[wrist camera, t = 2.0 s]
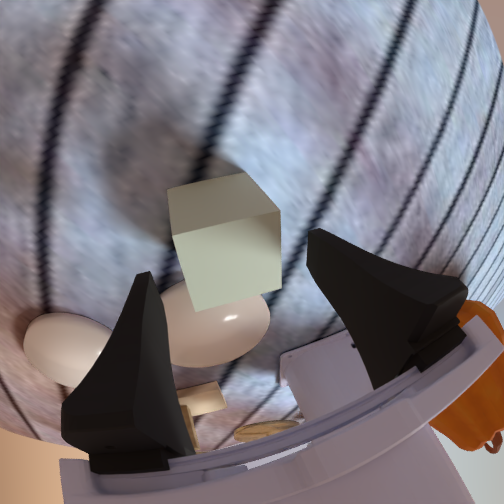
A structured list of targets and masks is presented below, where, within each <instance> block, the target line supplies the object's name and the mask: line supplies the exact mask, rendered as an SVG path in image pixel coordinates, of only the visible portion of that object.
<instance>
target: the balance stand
mask: <svg viewBox="0 0 504 504" xmlns="http://www.w3.org/2000/svg"><path fill="white" fill-rule="evenodd" d="M176 392H177V396H178V400H179V403H180V407H181V411H182V414H183V417H184V421H185V424H186V427H187V430H188V433H189V436H190V439H191V441H192V444H193V447H194V450H198V449H200V446H199V442H198V439H197V435H196V431H195V427H194V423H193V419H192V416H196V415H200V414H204V413H209V412H213V411H217V410H221V409H224V408H228V407H227V404H226V401H225V399H224V397H223V394H222V392H221V390H220V387H219V385H218V383H217V381H215V382H211V383H207V384H203V385H199V386H194V387H190V388H186V389H181V390H177V391H176Z"/></svg>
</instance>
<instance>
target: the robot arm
mask: <svg viewBox="0 0 504 504" xmlns="http://www.w3.org/2000/svg"><path fill="white" fill-rule="evenodd" d="M306 266H307V268H308V269H309V271H310V273H311V275H312V277H313V279H314V281H315V283H316V284H317V285H318V287H319V288H320V290H321V291H322V293H323V294H324V295H325V297H326V298H327V299H328V301H329V302H330V304H331V305H332V306H333V308H334V309H335V311H336V312H337V313H338V315H339V316H340V318H341V319H342V321H343V323H344V324H345V326H346V328H347V330H344V331H342V332H339V333H337V334H334V335H332V336H329V337H327V338H324V339H322V340H319V341H316V342H314V343H311V344H308V345H306V346H303V347H300V348H297V349H295V350H292V351H289V352H286V353H283V354H282V355H281V356H280V387H286V386H288V385H289V387H290V389H291V391H292V393H293V395H294V397H295V399H296V401H297V404H298V406H299V408H300V410H301V412H302V414H303V416H304V418H305V420H306V422H305V423H303V424H300V425H298V426H295V427H292V428H290V429H287V430H284V431H281V432H278V433H275V434H272V435H269V436H266V437H263V438H260V439H257V440H253V441H250V442H246V443H243V444H239V445H236V446H232V447H228V448H224V449H220V450H215V451H211V452H206V453H201V454H196V452H195V450H194V447H193V444H192V441H191V439H190V436H189V433H188V430H187V427H186V424H185V421H184V417H183V414H182V411H181V407H180V403H179V400H178V396H177V392H176V388H175V384H174V379H173V375H172V368H171V359H170V349H169V338H168V326H167V319H166V314H165V309H164V304H163V301H162V299H161V297H160V294H159V292H158V289H157V287H156V285H155V282H154V280H153V277H152V274H151V272H150V271H148V272H144V273H140V274H137V275H136V277H135V279H134V282H133V285H132V287H131V290H130V293H129V295H128V298H127V300H126V303H125V305H124V308H123V310H122V312H121V315H120V317H119V319H118V321H117V323H116V326H115V328H114V330H113V332H112V334H111V336H110V338H109V340H108V341H107V343H106V345H105V347H104V349H103V350H102V352H101V354H100V355H99V357H98V358H97V360H96V361H95V363H94V364H93V366H92V367H91V369H90V370H89V372H88V373H87V374H86V376H85V377H84V378H83V380H82V381H81V382H80V383H79V385H78V386H77V387H76V388H75V389H74V391H73V392H72V393H71V394H70V395H69V396H68V397H67V399H66V400H65V401H64V402H63V403H62V407H61V436H62V438H63V439H64V440H65V441H66V442H67V443H68V444H70V445H72V446H74V447H76V448H78V449H80V450H82V451H84V452H86V453H88V454H89V461H88V460H83V459H62V458H61V459H59V465H60V476H61V485H62V492H63V499H64V504H475V502H474V501H473V499H472V497H471V495H470V493H469V491H468V489H467V487H466V486H465V484H464V482H463V480H462V478H461V477H460V475H459V473H458V471H457V470H456V468H455V466H454V464H453V463H452V461H451V459H450V458H449V456H448V454H447V453H446V451H445V449H444V448H443V446H442V444H441V443H440V441H439V439H438V438H437V436H436V434H435V433H434V431H433V430H432V428H431V426H430V425H429V423H428V422H429V421H431V420H432V419H433V418H434V417H436V416H437V415H438V414H439V413H441V412H442V411H443V410H444V409H446V408H447V407H448V406H449V405H450V404H451V403H453V402H454V401H455V400H456V399H457V398H458V397H459V396H460V395H461V394H463V393H464V392H465V391H466V390H467V389H468V388H469V387H470V386H471V385H472V384H473V383H474V382H475V381H476V380H477V379H478V378H479V377H480V376H481V375H482V374H483V373H484V372H485V371H486V370H487V369H488V368H489V367H490V365H491V364H492V363H493V362H494V361H495V360H496V359H497V358H498V357H499V355H500V354H501V353H502V352H503V351H504V346H503V345H502V343H501V342H500V341H499V340H498V338H497V337H496V336H495V335H494V334H493V332H492V331H491V330H490V329H489V328H488V327H487V325H486V324H485V323H484V322H483V321H482V320H481V318H480V317H479V316H478V315H476V316H475V317H473V318H472V319H471V320H470V321H469V322H467V323H466V324H465V325H464V326H463V327H462V328H460V327H459V325H458V324H459V323H460V320H459V319H458V317H457V314H458V312H459V311H460V309H461V307H462V306H463V304H464V302H465V300H466V298H467V295H468V288H467V287H466V286H465V285H464V284H463V283H462V282H461V281H460V280H459V279H458V278H457V277H453V276H446V275H438V274H433V273H428V272H424V271H420V270H416V269H412V268H409V267H405V266H402V265H399V264H396V263H394V262H391V261H388V260H386V259H383V258H381V257H378V256H376V255H374V254H372V253H369V252H367V251H365V250H363V249H361V248H359V247H357V246H355V245H353V244H351V243H349V242H347V241H345V240H343V239H341V238H339V237H337V236H335V235H334V234H332V233H330V232H327V231H325V230H323V229H321V228H318V229H314V230H310V231H308V246H307V263H306ZM310 441H311V443H309V444H308V445H307V447H306V448H304V449H302V450H300V451H297V452H295V453H292V454H290V455H287V456H285V457H282V458H280V459H277V460H275V461H272V462H269V463H267V464H264V465H261V466H258V467H255V468H252V469H249V470H248V469H247V466H245V465H241V464H245V463H248V462H252V461H255V460H259V459H262V458H265V457H268V456H272V455H275V454H277V453H281V452H283V451H286V450H289V449H292V448H295V447H297V446H300V445H302V444H305V443H307V442H310ZM237 465H241V466H237ZM233 466H234V467H233Z"/></svg>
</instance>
